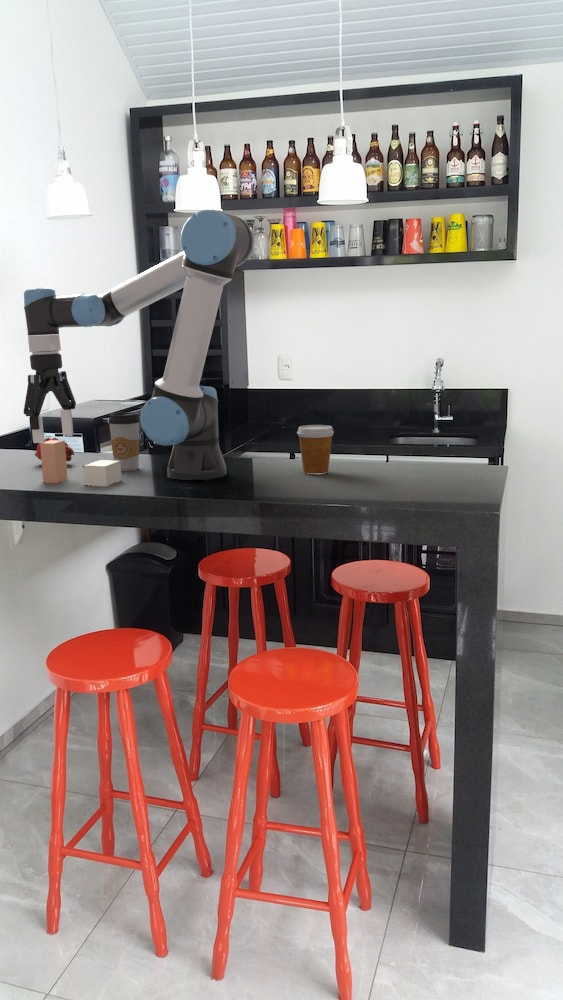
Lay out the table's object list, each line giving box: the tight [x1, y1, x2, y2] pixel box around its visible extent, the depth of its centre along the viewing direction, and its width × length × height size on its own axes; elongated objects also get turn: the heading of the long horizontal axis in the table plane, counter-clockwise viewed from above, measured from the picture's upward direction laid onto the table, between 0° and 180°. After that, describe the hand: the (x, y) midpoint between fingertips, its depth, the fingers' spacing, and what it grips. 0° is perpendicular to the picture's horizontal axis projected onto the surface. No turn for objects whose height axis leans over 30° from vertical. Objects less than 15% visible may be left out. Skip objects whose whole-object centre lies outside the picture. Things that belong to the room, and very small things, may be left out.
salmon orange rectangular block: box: [40, 439, 68, 484], centre depth 210 cm, size 4×5×10 cm
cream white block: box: [82, 459, 122, 487], centre depth 207 cm, size 6×8×5 cm
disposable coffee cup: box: [296, 424, 335, 473], centre depth 214 cm, size 10×10×12 cm
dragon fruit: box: [34, 437, 75, 462], centre depth 233 cm, size 8×8×12 cm
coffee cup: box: [108, 411, 141, 472], centre depth 224 cm, size 8×8×15 cm
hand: (54, 438), depth 209 cm, fingers open, 13 cm apart
